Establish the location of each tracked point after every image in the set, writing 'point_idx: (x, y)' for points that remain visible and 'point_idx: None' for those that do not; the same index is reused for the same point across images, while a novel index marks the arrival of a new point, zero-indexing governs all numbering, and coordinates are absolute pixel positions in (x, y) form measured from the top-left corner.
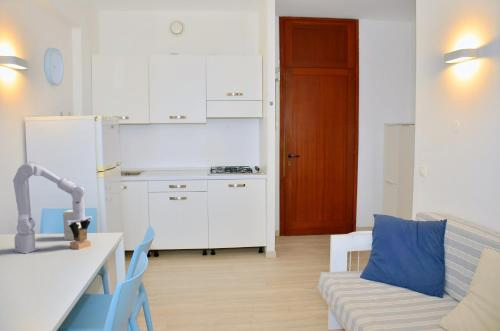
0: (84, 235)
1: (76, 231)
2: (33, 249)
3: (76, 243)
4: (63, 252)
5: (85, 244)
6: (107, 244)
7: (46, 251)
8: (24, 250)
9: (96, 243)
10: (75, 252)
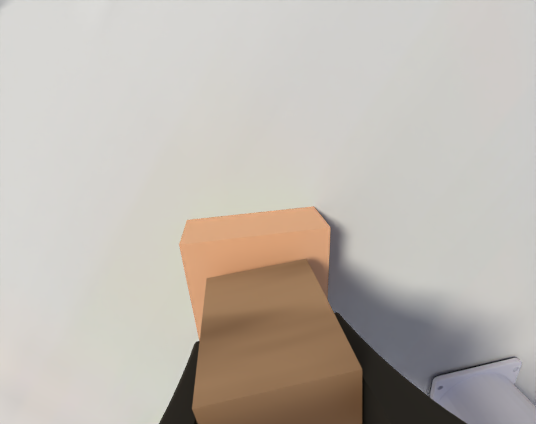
0: (243, 310)
1: (394, 376)
2: (472, 379)
3: (322, 266)
4: (422, 226)
5: (245, 226)
6: (15, 130)
7: (444, 323)
8: (513, 384)
9: (103, 253)
10: (385, 148)
